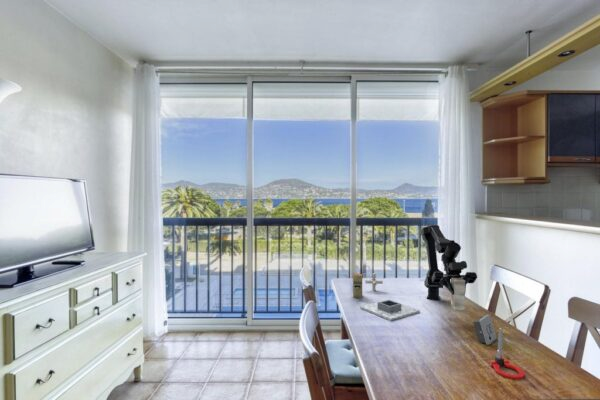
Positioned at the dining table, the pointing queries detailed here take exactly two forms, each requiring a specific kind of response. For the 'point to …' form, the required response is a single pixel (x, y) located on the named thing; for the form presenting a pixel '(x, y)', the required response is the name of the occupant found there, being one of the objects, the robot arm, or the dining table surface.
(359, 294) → the shoe polish box
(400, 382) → the dining table surface
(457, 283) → the birch peg
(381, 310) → the socket plate
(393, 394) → the dining table surface
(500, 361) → the tow hook
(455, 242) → the robot arm
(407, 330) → the dining table surface
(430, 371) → the dining table surface
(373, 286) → the pipe connector
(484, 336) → the electrical switch
